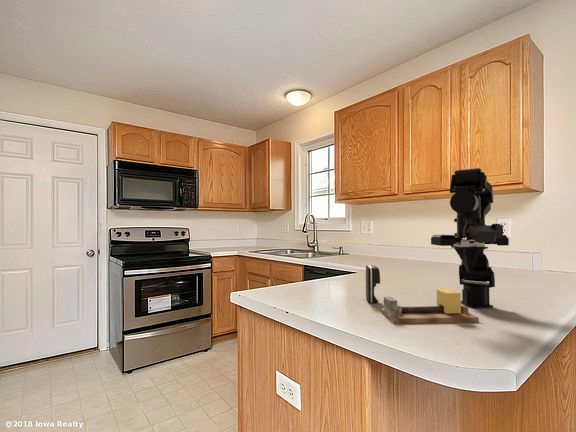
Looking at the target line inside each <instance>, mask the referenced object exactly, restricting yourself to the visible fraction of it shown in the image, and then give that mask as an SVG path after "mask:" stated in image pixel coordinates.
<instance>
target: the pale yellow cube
mask: <svg viewBox="0 0 576 432" xmlns="http://www.w3.org/2000/svg"><path fill="white" fill-rule="evenodd" d="M461 301H462V293H461V292H458V291H456V290H453V289H451V288H449V289H447V288H445V289H436V306H444V313H446V314H453V313H461V306H462V303H461Z"/></svg>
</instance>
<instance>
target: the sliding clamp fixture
mask: <svg viewBox="0 0 576 432" xmlns="http://www.w3.org/2000/svg"><path fill="white" fill-rule="evenodd" d="M380 314H382V316H384V317H386V319H388V320H389V321H390V322H391V323H393V324H429V323H430V324H431V323H432V324H437V323H442V324H443V323H479V320H480V319H479V316H477V315H475V314H472V313H470V312H469V306H468V305H461V313H453V314H446V313H444V306H437V305H434V306H433V305H432V306H431V305H429V306H428V305H425V306H424V305H423V306H422V305H421V306H402V305H400V304H399V303H398V300H397V299H395V298H394V297H392V296H384V297H383V307H381V308H380Z"/></svg>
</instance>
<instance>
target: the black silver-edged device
mask: <svg viewBox="0 0 576 432" xmlns="http://www.w3.org/2000/svg"><path fill="white" fill-rule="evenodd" d="M378 284H381V272H380V269H379V267H377V266H376V265H369V264H368V265H366V266H365V299H366V300H367V303H370V304H375V303H376V304H377V303H378V304H379V300H378V298H377V297H376V296H375V287H377V285H378Z"/></svg>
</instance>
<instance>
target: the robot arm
mask: <svg viewBox="0 0 576 432" xmlns="http://www.w3.org/2000/svg"><path fill="white" fill-rule="evenodd" d="M453 173H454V174H451V180H450V184H449V185H450V186H449V194H453V195H451V197H450V201H449V206H450V208H451V210H453V211H454V212H455V213H456V217H455V218H453V222H454V223H456V232H454V233H453V234H432V236H431V238H430V245H431V246H432V245H434V246H441V247H442V246H443V247H445V246H446V247H448V246H449V247H451V249H454V251H455V252H456V253H457V255H458V257H459V259H460V260H461V264H459V265H458V266H459V267H458V276H459V277H458V278H459V285H461V286H462V285H463V286H462V287H463V288H462V289H461V292H462V293H461V304H463V305H464V306H467V307H470V308H473V309H474V308H477V309H478V308H494V305H492V304H490V303H491V302H490V288H495V287H496V285H495V284H496V281H495V280H496V279H495V277H496V276H495V272H494V271H493V269H492V266H490V262H489V259H488V258H487V255H486V254H485V250H488V248H489V247H488V246H486V245H497V246H510V239H509V237H508V236H507V235H506V234H504V225H502V224H500V223H492V224H490V225H488V224H486V216H487V214H488V213H489V212H490V211H491V209H492V204H494V189H493V188H494V187H493V185H492V184H491V183H490V182H489V181H488V177H487V176H488V175H486V173H485V172H484V171H483V169H482V168H480V167H476V168H465V169H464V168H463V169H456V170H454V172H453Z"/></svg>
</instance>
